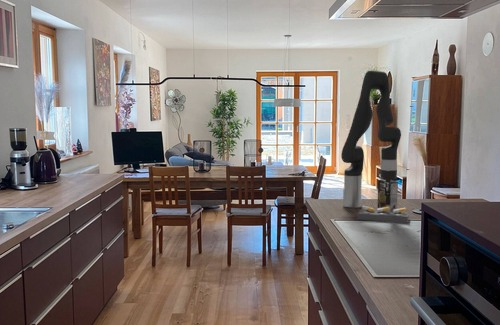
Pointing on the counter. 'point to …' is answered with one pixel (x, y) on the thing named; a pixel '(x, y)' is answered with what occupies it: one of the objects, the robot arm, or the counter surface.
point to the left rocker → (368, 208)
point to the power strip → (383, 216)
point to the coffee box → (383, 199)
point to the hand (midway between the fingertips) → (388, 204)
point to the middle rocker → (383, 209)
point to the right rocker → (399, 210)
